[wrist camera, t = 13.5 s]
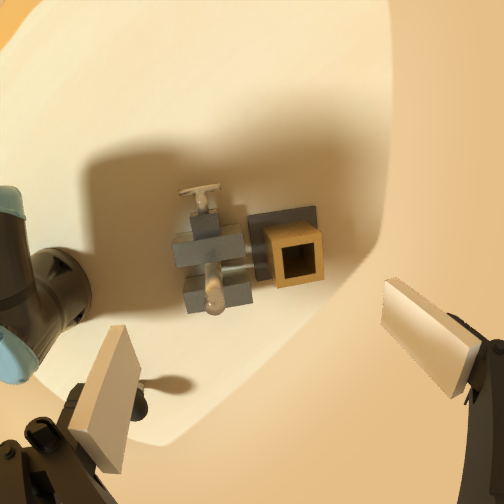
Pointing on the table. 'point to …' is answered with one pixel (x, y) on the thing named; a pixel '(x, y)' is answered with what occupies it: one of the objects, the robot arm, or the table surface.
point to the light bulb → (139, 404)
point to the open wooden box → (296, 267)
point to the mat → (268, 220)
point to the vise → (211, 258)
